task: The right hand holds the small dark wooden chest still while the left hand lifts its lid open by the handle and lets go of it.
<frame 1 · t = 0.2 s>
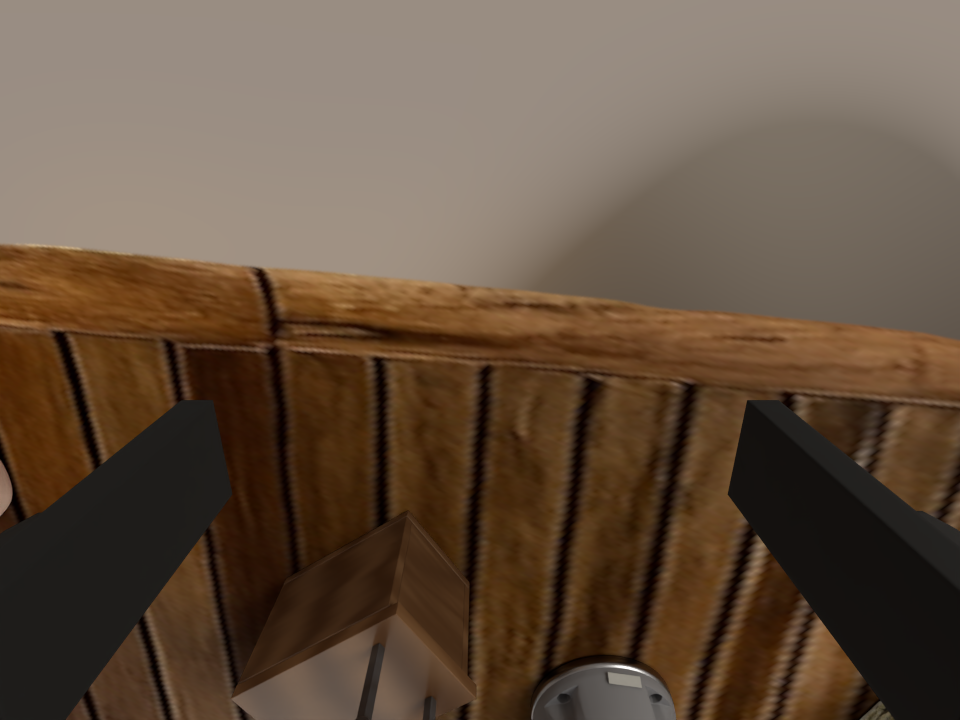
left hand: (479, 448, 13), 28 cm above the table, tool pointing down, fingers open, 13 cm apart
fossil: (900, 709, 57), on the table
chest: (378, 580, 50), on the table
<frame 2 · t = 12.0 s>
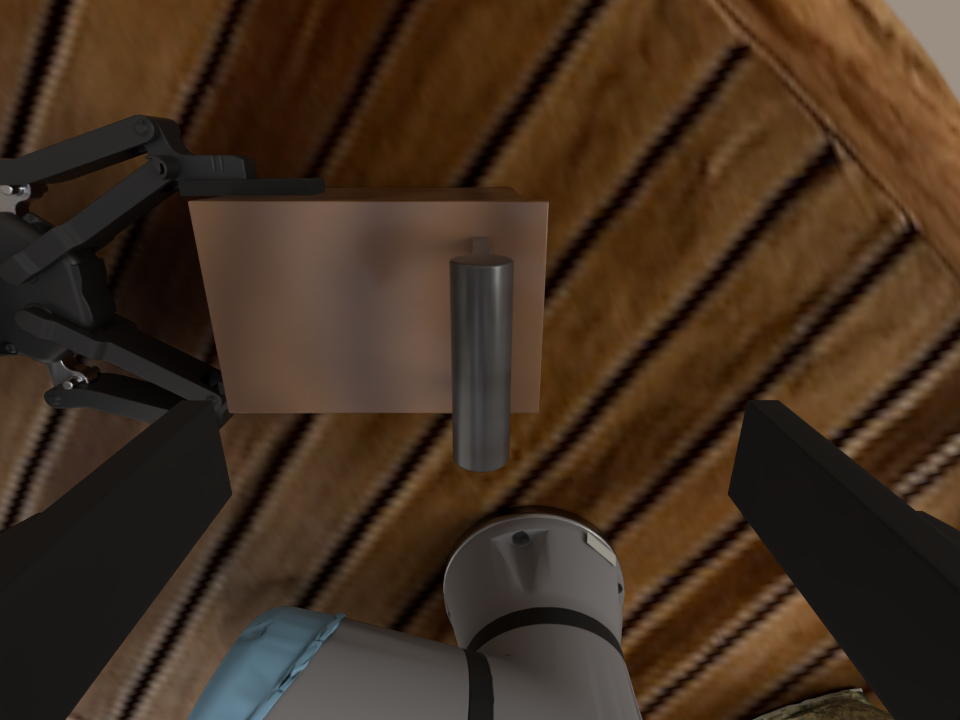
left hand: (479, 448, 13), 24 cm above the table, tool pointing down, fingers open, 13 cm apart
right hand: (328, 289, 29), fingers closed on chest, 10 cm apart
lid: (362, 336, 21), point 15 cm above the table, hinge at 0.0°
chest: (402, 265, 35), on the table, touching right hand
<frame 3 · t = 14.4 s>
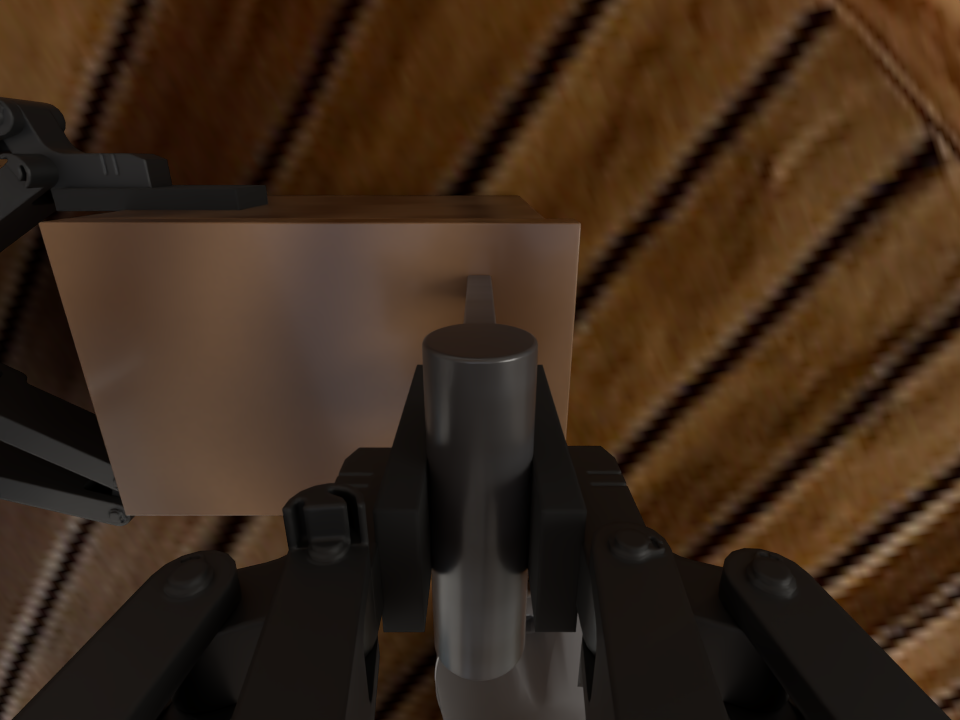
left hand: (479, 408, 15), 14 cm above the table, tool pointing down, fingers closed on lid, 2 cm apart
lid: (296, 433, 14), point 15 cm above the table, hinge at 0.0°, touching left hand
chest: (380, 294, 28), on the table, touching right hand
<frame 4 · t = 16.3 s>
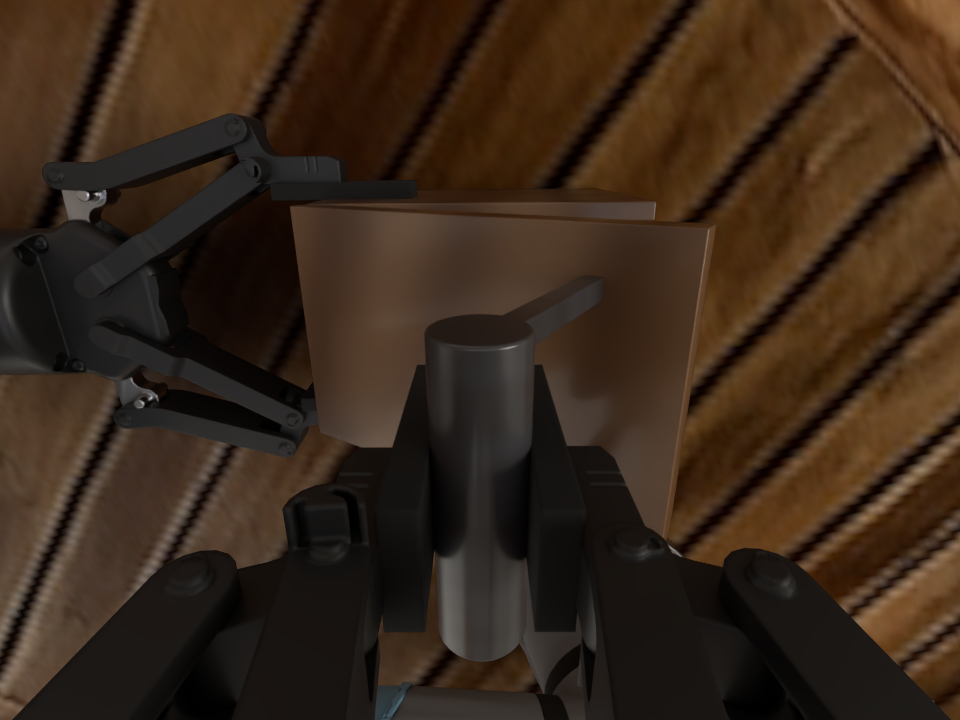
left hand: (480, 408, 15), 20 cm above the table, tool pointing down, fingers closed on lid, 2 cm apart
right hand: (420, 298, 27), fingers closed on chest, 10 cm apart
lid: (400, 392, 16), point 19 cm above the table, hinge at 31.8°, touching left hand
chest: (479, 271, 34), on the table, touching right hand
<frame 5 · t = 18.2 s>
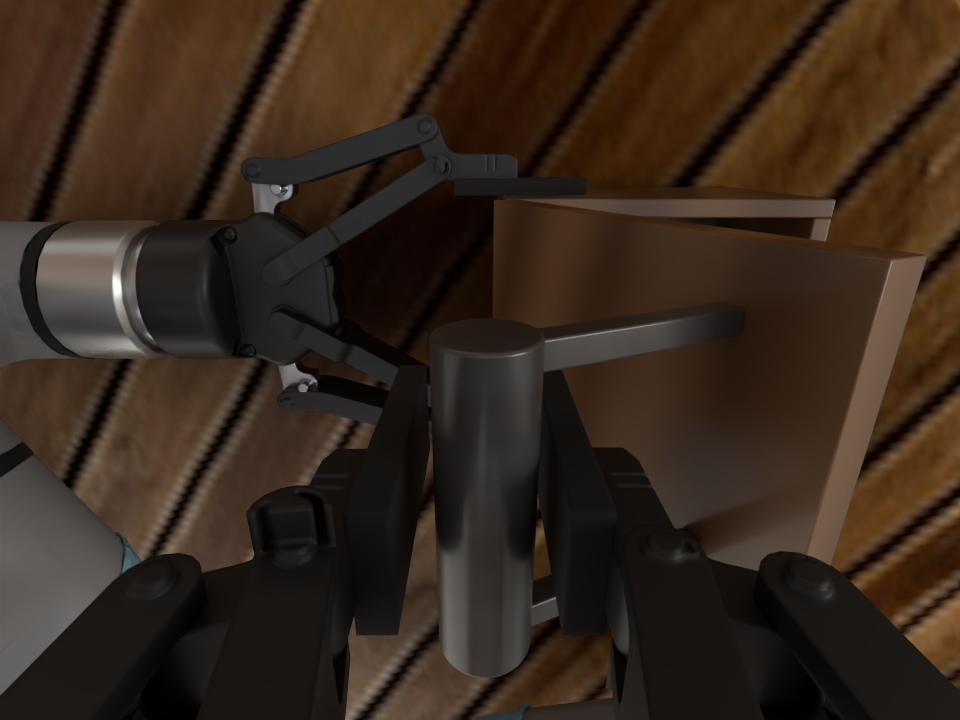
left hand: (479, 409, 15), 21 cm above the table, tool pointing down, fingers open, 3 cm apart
right hand: (574, 290, 28), fingers closed on chest, 10 cm apart
lid: (511, 390, 16), point 20 cm above the table, hinge at 65.2°
chest: (605, 266, 35), on the table, touching right hand
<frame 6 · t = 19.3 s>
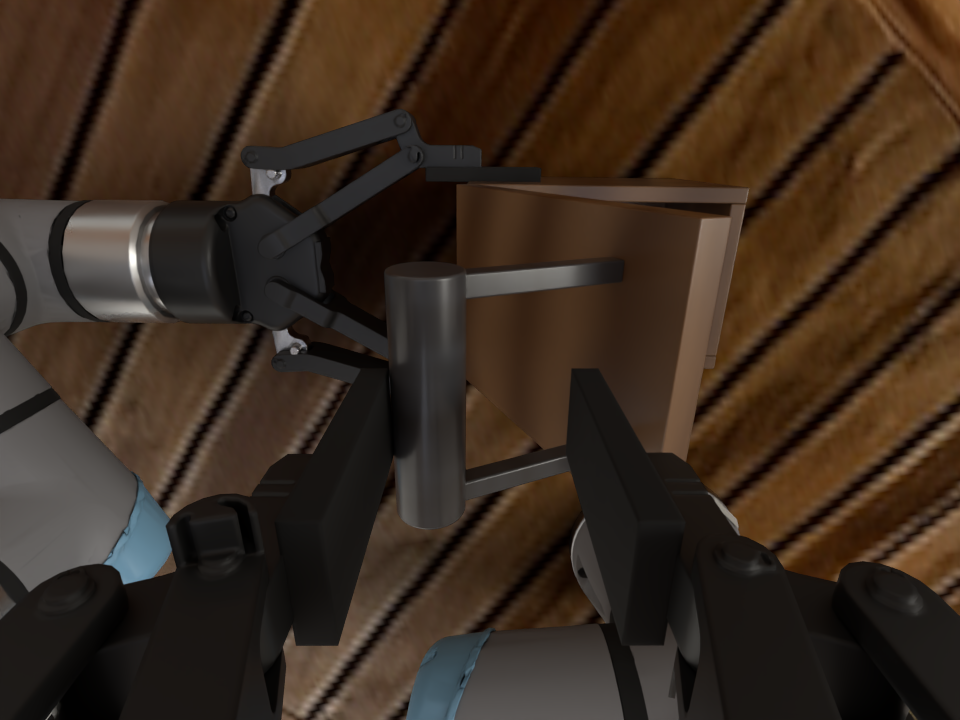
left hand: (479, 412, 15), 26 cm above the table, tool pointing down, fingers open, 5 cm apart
right hand: (533, 266, 32), fingers closed on chest, 10 cm apart
lid: (462, 334, 20), point 20 cm above the table, hinge at 64.2°, touching left hand
chest: (567, 249, 39), on the table, touching right hand
when the right hand's fingers open (7 cm above the table, at t = 22.0 s): chest stays where it is, on the table.
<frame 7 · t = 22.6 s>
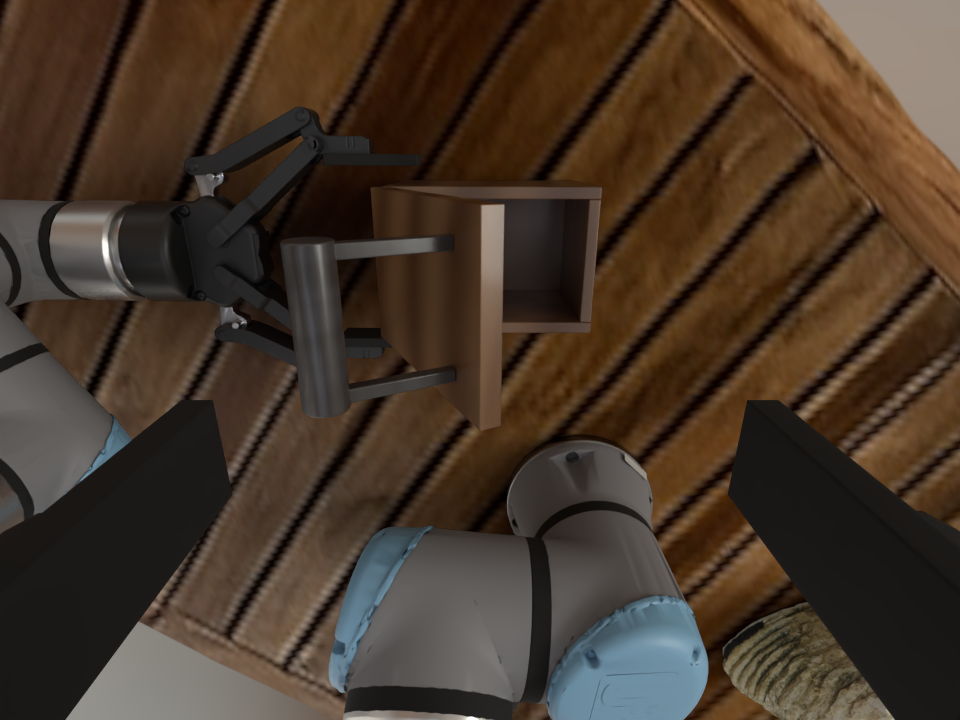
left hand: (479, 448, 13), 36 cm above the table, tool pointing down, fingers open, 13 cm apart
right hand: (421, 254, 40), fingers open, 13 cm apart
fossil: (790, 626, 63), on the table
lid: (361, 295, 27), point 20 cm above the table, hinge at 62.9°
chest: (488, 240, 46), on the table
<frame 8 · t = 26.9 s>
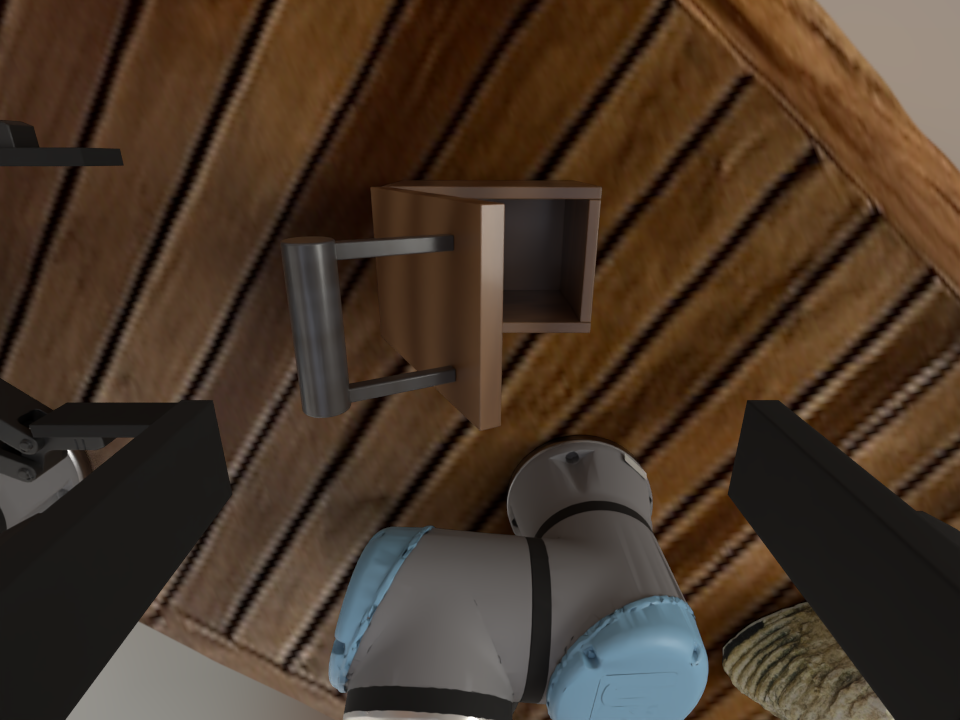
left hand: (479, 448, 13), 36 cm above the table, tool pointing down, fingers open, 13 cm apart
fossil: (790, 626, 63), on the table
lid: (361, 295, 27), point 20 cm above the table, hinge at 62.9°
chest: (488, 240, 46), on the table
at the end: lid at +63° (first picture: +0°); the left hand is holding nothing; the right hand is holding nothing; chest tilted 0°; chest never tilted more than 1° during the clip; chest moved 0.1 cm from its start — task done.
